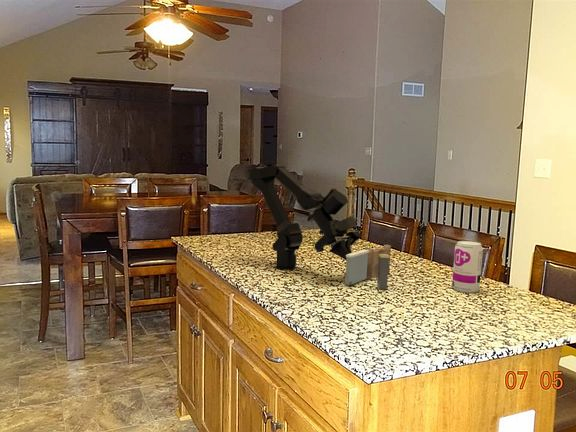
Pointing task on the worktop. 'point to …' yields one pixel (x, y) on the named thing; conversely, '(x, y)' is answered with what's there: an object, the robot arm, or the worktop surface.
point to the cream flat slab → (356, 267)
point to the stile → (383, 271)
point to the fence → (376, 261)
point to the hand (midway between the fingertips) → (352, 262)
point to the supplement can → (467, 266)
